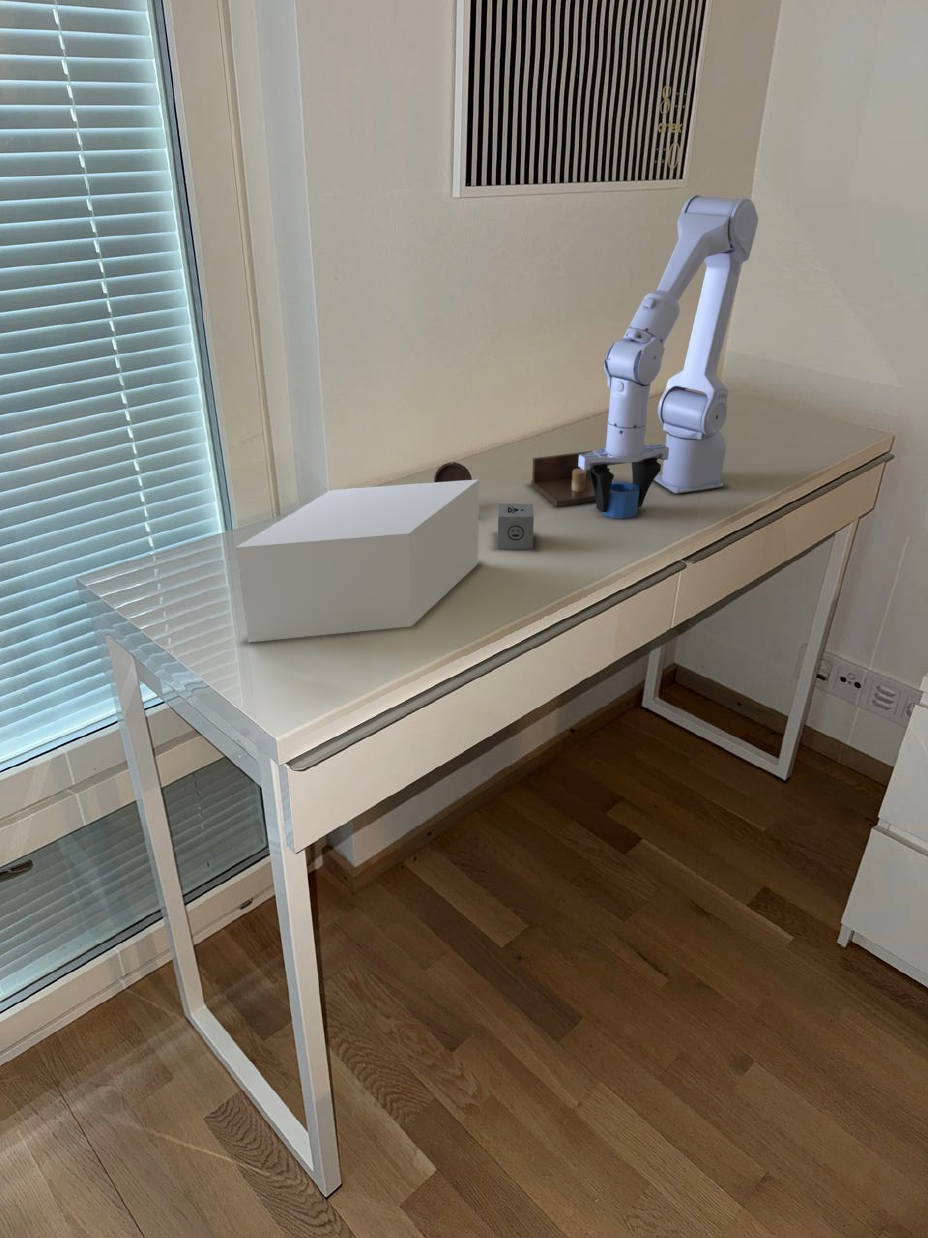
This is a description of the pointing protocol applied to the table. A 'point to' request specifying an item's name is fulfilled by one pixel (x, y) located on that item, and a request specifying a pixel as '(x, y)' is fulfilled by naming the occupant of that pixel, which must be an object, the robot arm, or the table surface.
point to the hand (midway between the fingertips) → (619, 507)
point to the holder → (562, 479)
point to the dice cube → (515, 526)
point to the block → (359, 560)
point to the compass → (452, 473)
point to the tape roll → (622, 500)
